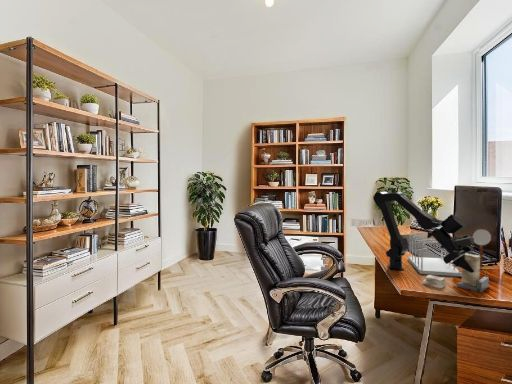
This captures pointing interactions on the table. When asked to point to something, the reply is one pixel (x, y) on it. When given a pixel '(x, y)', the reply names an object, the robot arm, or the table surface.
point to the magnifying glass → (481, 240)
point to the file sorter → (431, 261)
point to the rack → (480, 287)
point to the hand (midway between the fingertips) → (474, 271)
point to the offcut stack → (435, 281)
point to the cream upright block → (475, 265)
